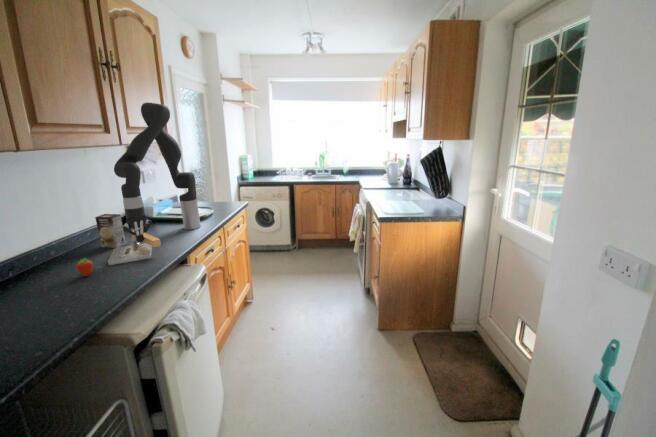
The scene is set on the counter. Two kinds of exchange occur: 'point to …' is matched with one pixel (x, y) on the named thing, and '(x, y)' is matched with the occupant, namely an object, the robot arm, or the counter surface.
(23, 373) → the counter surface
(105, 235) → the coffee box
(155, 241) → the swing arm
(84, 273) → the fruit
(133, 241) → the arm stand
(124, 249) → the plate
